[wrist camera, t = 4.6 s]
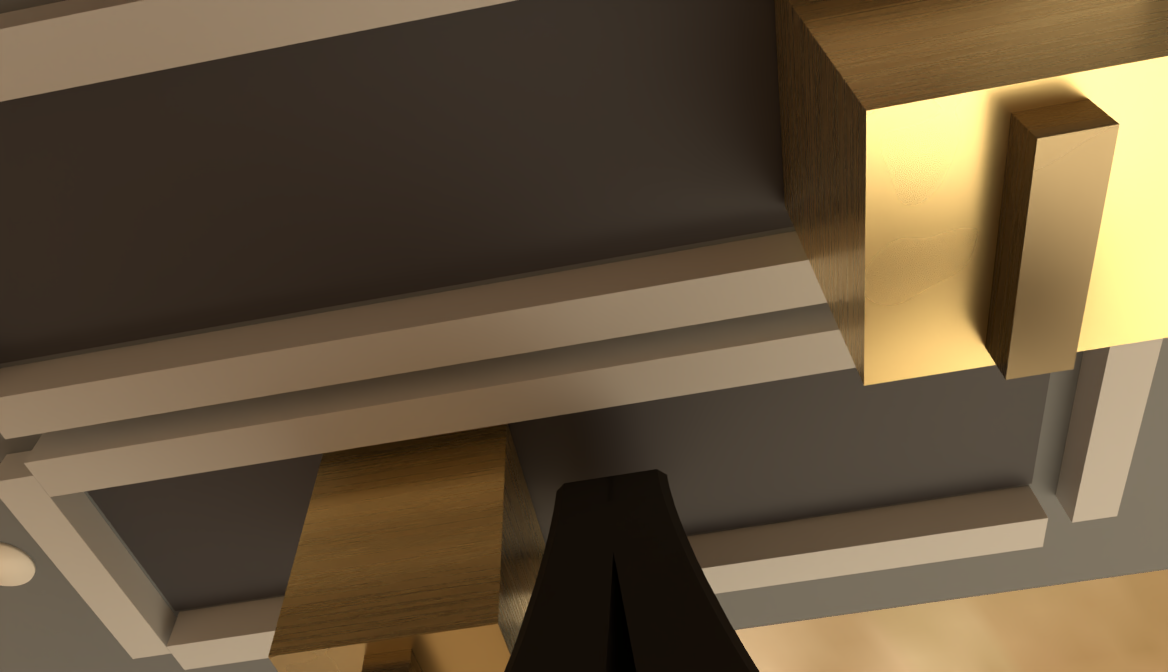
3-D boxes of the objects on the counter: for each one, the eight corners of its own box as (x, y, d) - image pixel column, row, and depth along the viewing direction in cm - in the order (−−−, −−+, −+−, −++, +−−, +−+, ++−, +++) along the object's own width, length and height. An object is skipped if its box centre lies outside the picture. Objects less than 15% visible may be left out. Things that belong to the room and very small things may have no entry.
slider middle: (1012, 166, 10) (1198, 369, 7) (784, 205, 10) (878, 418, 7) (1039, -74, 8) (1287, 65, 5) (773, -22, 8) (883, 136, 6)
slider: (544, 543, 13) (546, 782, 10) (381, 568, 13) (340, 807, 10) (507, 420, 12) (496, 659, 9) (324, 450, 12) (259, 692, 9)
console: (1231, 495, 15) (1319, 603, 13) (74, 663, 16) (21, 779, 15) (1924, -1410, 5) (2580, -1912, 4) (-1037, -575, 7) (-1561, -650, 5)
